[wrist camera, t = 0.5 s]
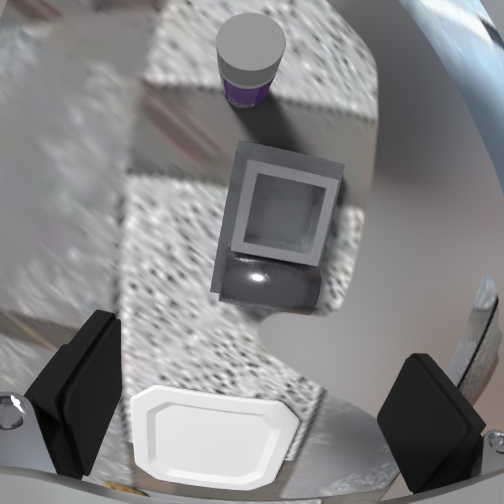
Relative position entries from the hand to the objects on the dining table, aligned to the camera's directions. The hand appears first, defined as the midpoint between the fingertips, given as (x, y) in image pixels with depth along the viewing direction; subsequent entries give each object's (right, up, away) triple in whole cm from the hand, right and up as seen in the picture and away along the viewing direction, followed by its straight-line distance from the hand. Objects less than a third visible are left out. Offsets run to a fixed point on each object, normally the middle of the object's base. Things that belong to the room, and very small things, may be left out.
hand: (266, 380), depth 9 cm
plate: (-7, -26, +36) cm, 45 cm away
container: (-1, +21, +22) cm, 31 cm away
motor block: (+2, +7, +26) cm, 27 cm away
